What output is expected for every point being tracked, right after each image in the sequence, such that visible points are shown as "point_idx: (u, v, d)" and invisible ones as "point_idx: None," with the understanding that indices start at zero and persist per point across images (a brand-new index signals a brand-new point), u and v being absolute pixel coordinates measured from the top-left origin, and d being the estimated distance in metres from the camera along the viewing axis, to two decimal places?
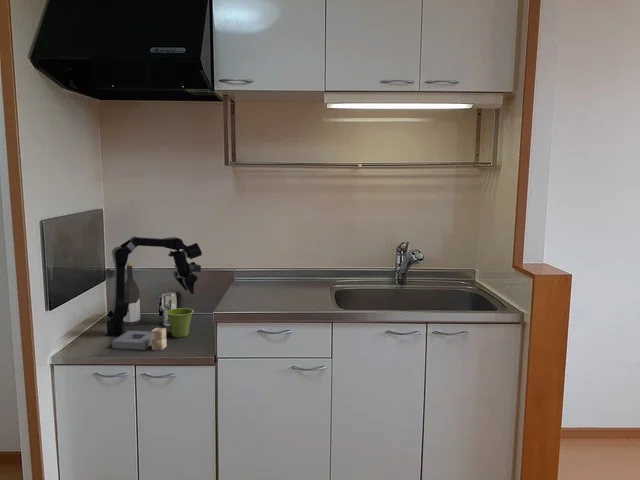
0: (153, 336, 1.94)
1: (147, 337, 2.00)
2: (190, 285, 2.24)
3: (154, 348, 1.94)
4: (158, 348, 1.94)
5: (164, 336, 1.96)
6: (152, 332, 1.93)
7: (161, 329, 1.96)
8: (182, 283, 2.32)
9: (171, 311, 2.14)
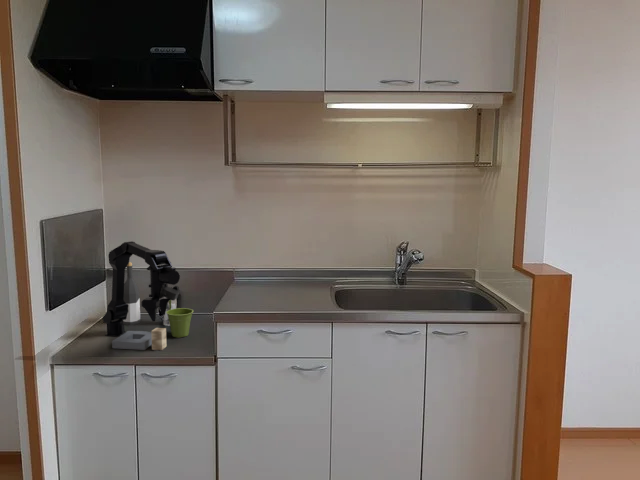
0: (153, 336, 1.94)
1: (147, 337, 2.00)
2: (151, 310, 1.89)
3: (154, 348, 1.94)
4: (158, 348, 1.94)
5: (164, 336, 1.96)
6: (152, 332, 1.93)
7: (161, 329, 1.96)
8: (161, 305, 1.99)
9: (171, 311, 2.14)
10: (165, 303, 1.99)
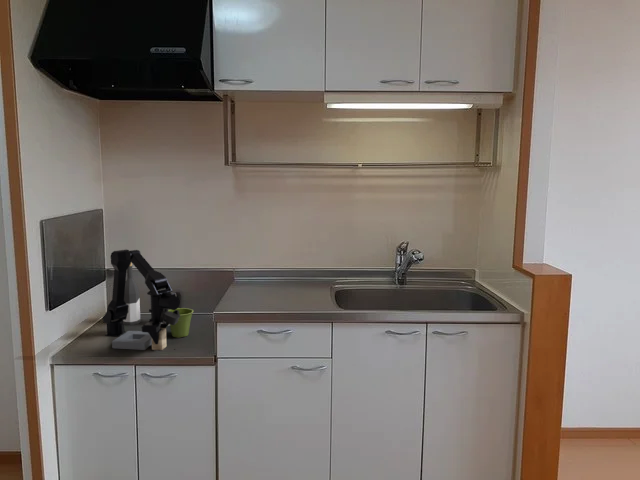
0: None
1: (147, 337, 2.00)
2: (154, 333, 1.92)
3: (154, 348, 1.94)
4: (158, 348, 1.94)
5: (164, 336, 1.96)
6: None
7: None
8: None
9: None
10: None
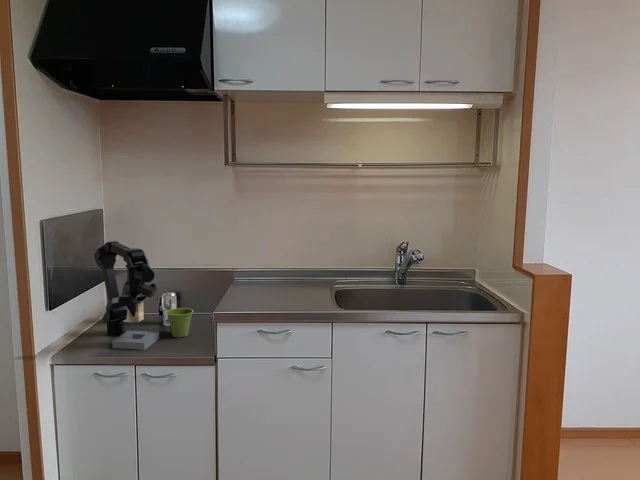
0: None
1: (147, 337, 2.00)
2: (131, 305, 1.96)
3: (131, 320, 1.98)
4: (135, 320, 1.98)
5: (141, 308, 2.00)
6: None
7: (138, 302, 1.99)
8: None
9: (171, 311, 2.14)
10: None
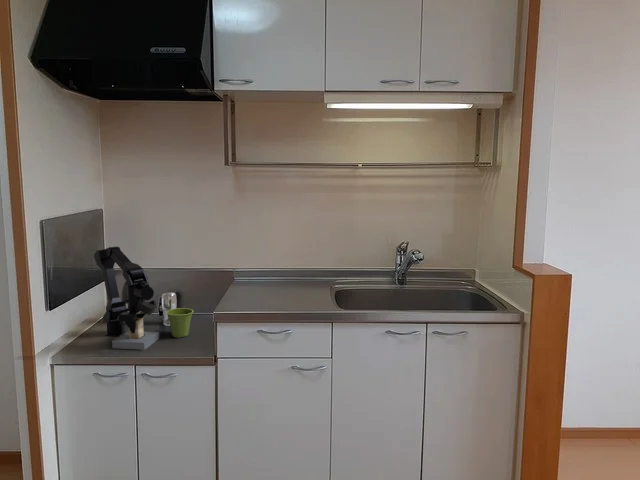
0: None
1: (147, 337, 2.00)
2: (131, 323, 1.97)
3: (131, 337, 1.99)
4: (135, 337, 1.99)
5: (141, 325, 2.01)
6: None
7: (138, 319, 2.00)
8: None
9: (171, 311, 2.14)
10: None
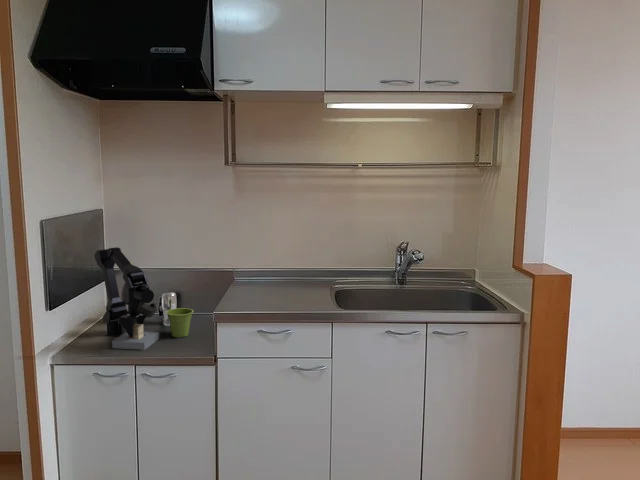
0: None
1: (147, 337, 2.00)
2: (129, 327, 1.95)
3: None
4: None
5: (141, 332, 2.01)
6: None
7: (138, 325, 2.01)
8: (138, 322, 2.05)
9: (171, 311, 2.14)
10: (142, 320, 2.05)
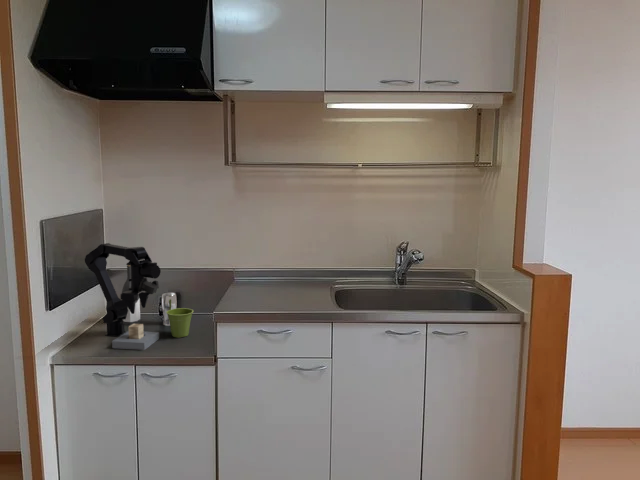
0: (130, 332, 1.99)
1: (147, 337, 2.00)
2: (130, 303, 1.99)
3: None
4: None
5: (141, 332, 2.01)
6: (129, 328, 1.98)
7: (138, 325, 2.01)
8: (141, 299, 2.10)
9: (171, 311, 2.14)
10: (145, 297, 2.10)
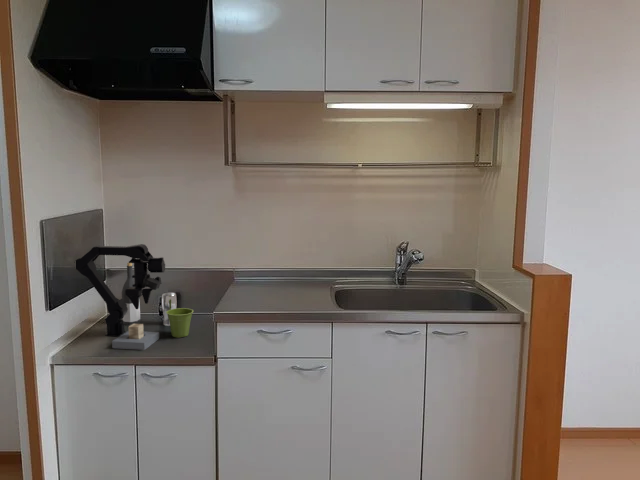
0: (130, 332, 1.99)
1: (147, 337, 2.00)
2: (135, 299, 2.06)
3: None
4: None
5: (141, 332, 2.01)
6: (129, 328, 1.98)
7: (138, 325, 2.01)
8: (144, 295, 2.16)
9: (171, 311, 2.14)
10: (148, 293, 2.16)
